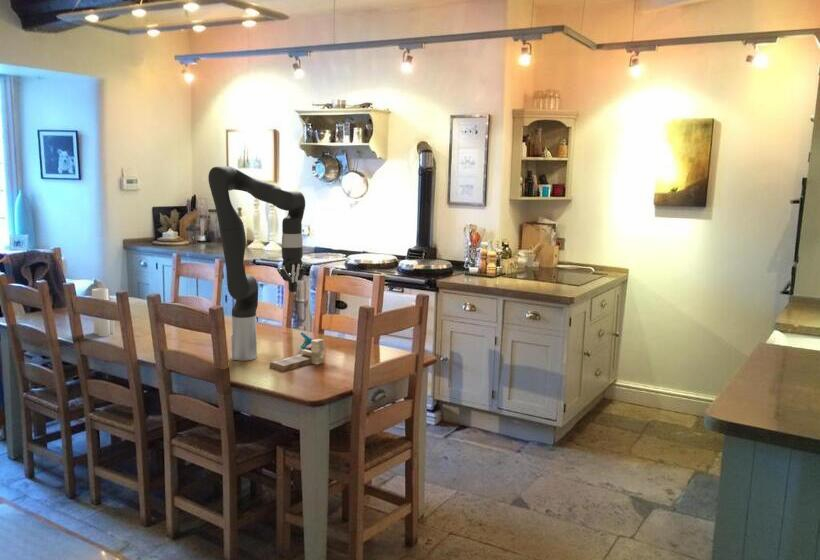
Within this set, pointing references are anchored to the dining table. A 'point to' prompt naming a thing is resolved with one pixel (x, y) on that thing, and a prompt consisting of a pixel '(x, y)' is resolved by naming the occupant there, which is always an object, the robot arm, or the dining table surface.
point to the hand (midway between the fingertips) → (292, 291)
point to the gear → (305, 341)
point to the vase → (102, 325)
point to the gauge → (315, 351)
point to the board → (291, 362)
